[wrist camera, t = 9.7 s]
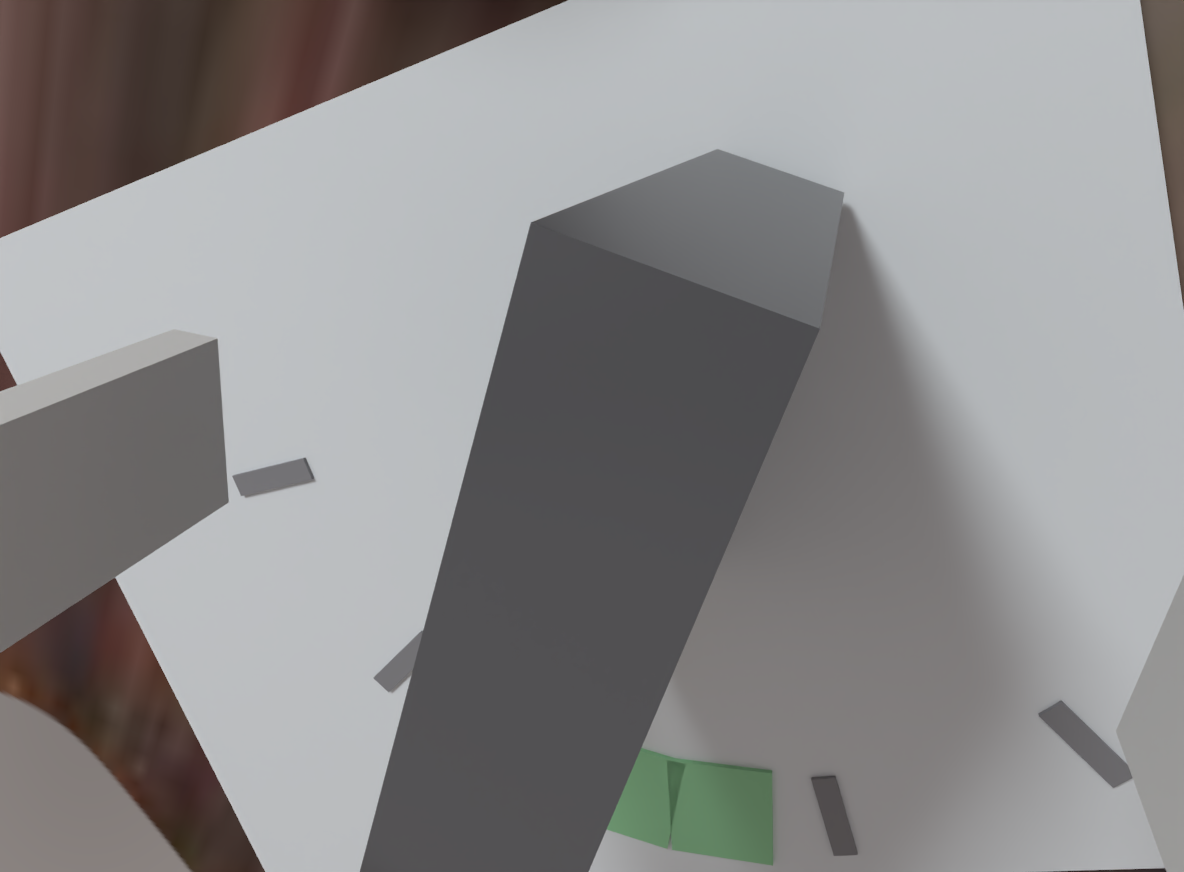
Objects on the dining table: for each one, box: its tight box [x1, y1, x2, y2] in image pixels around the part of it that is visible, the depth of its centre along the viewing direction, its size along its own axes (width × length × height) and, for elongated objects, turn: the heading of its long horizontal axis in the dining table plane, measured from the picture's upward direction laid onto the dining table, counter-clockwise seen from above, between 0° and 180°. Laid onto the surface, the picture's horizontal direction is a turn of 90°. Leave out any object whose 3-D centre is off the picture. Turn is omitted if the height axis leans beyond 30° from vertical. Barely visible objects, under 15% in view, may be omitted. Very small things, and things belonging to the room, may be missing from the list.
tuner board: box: [0, 0, 1184, 872], centre depth 22 cm, size 28×22×1 cm
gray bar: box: [360, 149, 844, 872], centre depth 16 cm, size 18×3×11 cm, turn 163°
